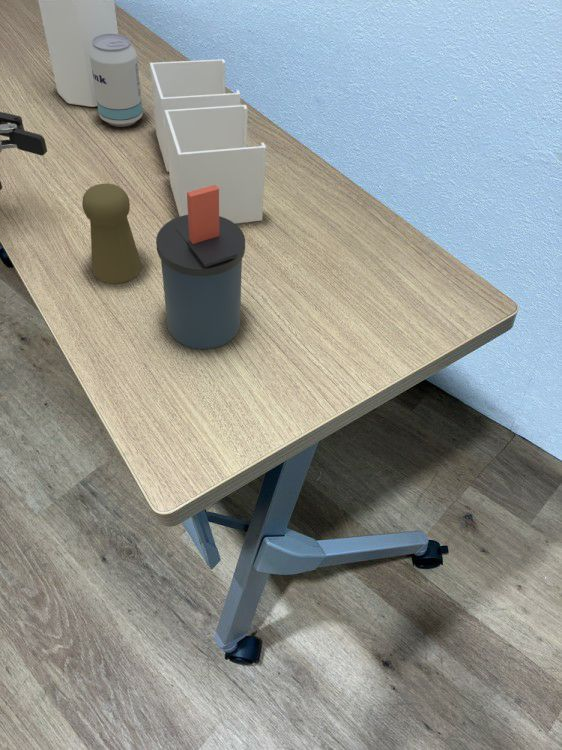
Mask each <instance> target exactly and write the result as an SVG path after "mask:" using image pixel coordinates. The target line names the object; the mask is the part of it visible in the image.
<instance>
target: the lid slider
mask: <svg viewBox="0 0 562 750" xmlns="http://www.w3.org/2000/svg"><path fill="white" fill-rule="evenodd" d="M187 206H188V225H189V240H188V241H187V245H188V246H189V248H190V249H191V250H192V252H193V253H194V254H195V256H196V257H197V258H198V260H199V261H200V262H201V263H202V265H203V266H204V267H207V266H210V265H214V264H217V263H220V262H223V261H226V260H229V259H232V258H235V257H237V253H236V252H235V251H234V249H233V248H232V247H231V246H230V245H229V243H228V242H227V241H226V240H225V239H224V237H223V236H222V235H221V234H220V233H219V188H218V187H217V186H216V185H212V186H209V187H205V188H201V189H197V190H194V191H190V192H187Z"/></svg>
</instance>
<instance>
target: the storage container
mask: <svg viewBox="0 0 562 750" xmlns="http://www.w3.org/2000/svg"><path fill="white" fill-rule="evenodd" d="M149 71H150V83H151V92H152V93H151V94H152V103H153V104H152V105H153V114H154V127H155V135H156V137H157V138H156V139H157V142H158V146H159V149H160V153H161V156H162V159H163V163H164V166H165V167H164V168H165V170H166V172H167V173H168V172H169V185H170V188H171V191H172V195H173V198H174V202H175V205H176V209H177V213H178V217H180V216H184V215H188V206H187V192H190V191H194V190H197V189H201V188H205V187H209V186H212V185H216V186H217V187H218V188H219V216H221V217H223V218H226V219H228V220H230V221H232V222H233V223H235V224H243V223H252V222H260V221H263V214H264V213H263V212H264V197H265V195H264V194H265V190H264V189H265V176H266V175H265V174H266V159H267V158H266V157H267V156H266V155H267V146H266V143H265V142H261V143H260V145H258V146H247V141H248V140H247V139H248V112H249V111H248V110H249V109H248V106H247V104H241V96H242V95H241V92H240V90H239V89H237V90H235V92H230V93H226V61H225V59H223V58H221V59H201V60H182V61H181V60H179V61H161V62H149Z"/></svg>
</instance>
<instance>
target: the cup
mask: <svg viewBox="0 0 562 750" xmlns="http://www.w3.org/2000/svg"><path fill="white" fill-rule="evenodd" d="M37 2H38V6H39V7H38V8H39V11H40V15H41V20H42V26H43V31H44V34H45V39H46V44H47V49H48V53H49V58H50V63H51V68H52V72H53V77H54V82H55V88H56V92H57V94H58V95H59V96H60V97H61V98H62V99H63V100H64V101H65V102H66V103H67V104H69V105H75V106H81V107H90V108H96V107H98V106H97V99H96V93H95V87H94V81H93V74H92V68H91V62H90V56H89V53H90V50H91V47H92V40H93V39H94V38H95V37H97V36H99V35H103V34H119V31H118V29H119V28H118V23H117V15H116V6H115V0H37Z"/></svg>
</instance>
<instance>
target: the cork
mask: <svg viewBox="0 0 562 750" xmlns="http://www.w3.org/2000/svg"><path fill="white" fill-rule="evenodd" d="M81 205H82V206H81V207H82V210H83V213H84V214H85V216H86V218H87V219H88V220H89V221H90V222H89V224H90V248H91V249H90V250H91V272H92V274H93V276H94V277H95V278H96V279H97V280H99V281H100V282H103V283H106V284H117V285H118V284H123V283H124V284H125V283H127V282H128V283H129V282H130V281H132V280H134V279H136V278H137V277H138V276H139V275H140V273H141V271H142V269H143V267H142V266H143V265H142V261H141V258H140V254H139V252H138V247H137V245H136V242H135V238H134V234H133V231H132V228H131V225H130V222H129V219H128V215H129V214H130V209H131V207H130V206H131V204H130V199H129V196H128V194H127V192H126V191H125V190H124V188H122V187H120V186H119V185H117V184H113V183H99V184H95V185H93V186H90V187H89V188H87V189H86V191H85V192H84V193H83V196H82V202H81Z"/></svg>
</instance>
